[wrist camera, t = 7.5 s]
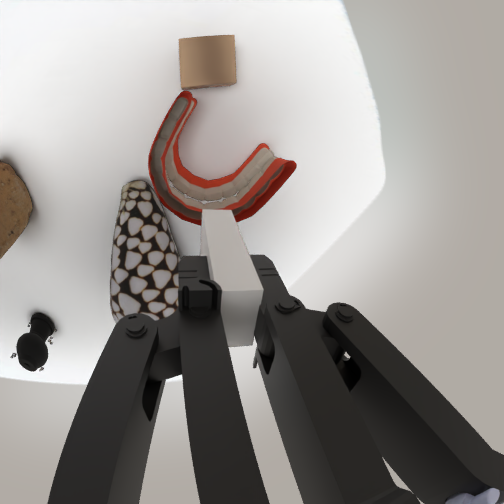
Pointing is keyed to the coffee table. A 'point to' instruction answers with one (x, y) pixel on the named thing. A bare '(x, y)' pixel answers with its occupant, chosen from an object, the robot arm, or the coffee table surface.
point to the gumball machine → (35, 343)
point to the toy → (242, 205)
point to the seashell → (143, 257)
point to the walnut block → (207, 61)
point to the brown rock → (12, 207)
